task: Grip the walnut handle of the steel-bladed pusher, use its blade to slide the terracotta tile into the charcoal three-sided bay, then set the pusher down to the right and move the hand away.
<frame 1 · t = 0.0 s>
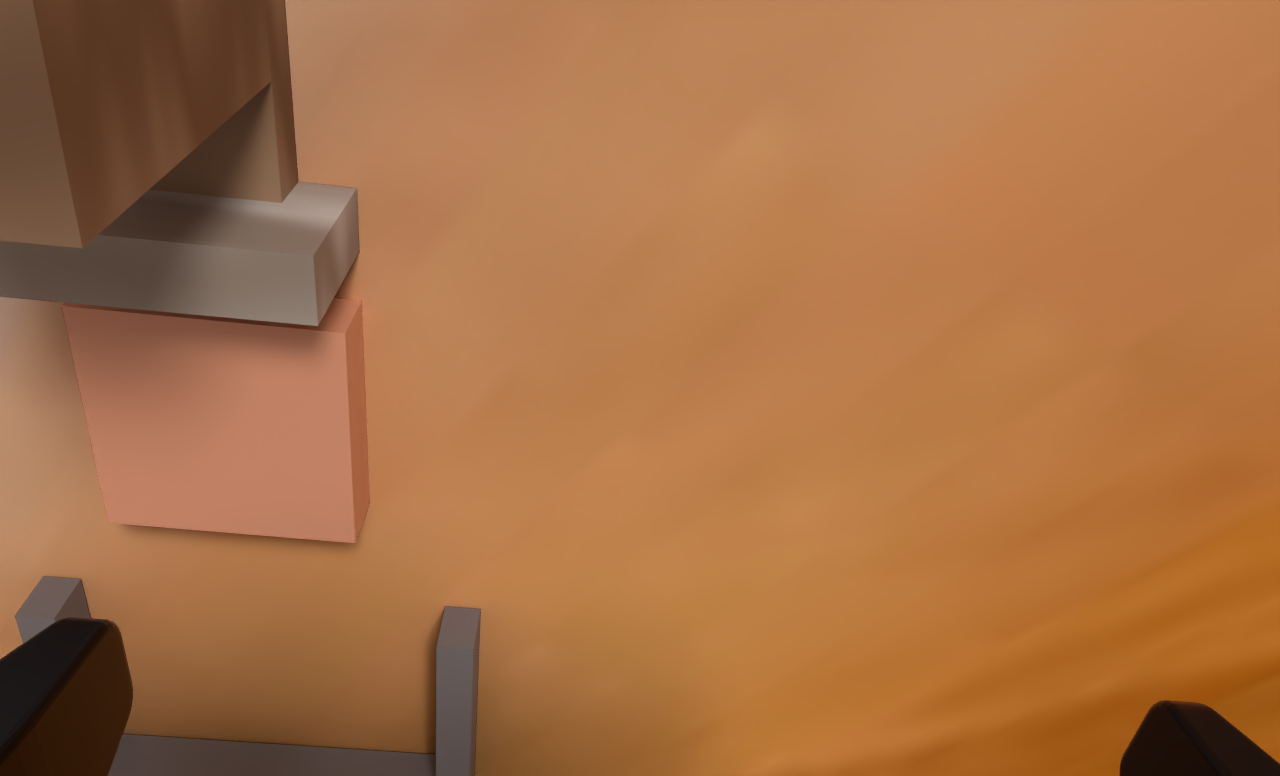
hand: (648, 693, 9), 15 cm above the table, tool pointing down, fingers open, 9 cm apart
tile: (248, 388, 25), on the table
tile bay: (272, 655, 29), on the table
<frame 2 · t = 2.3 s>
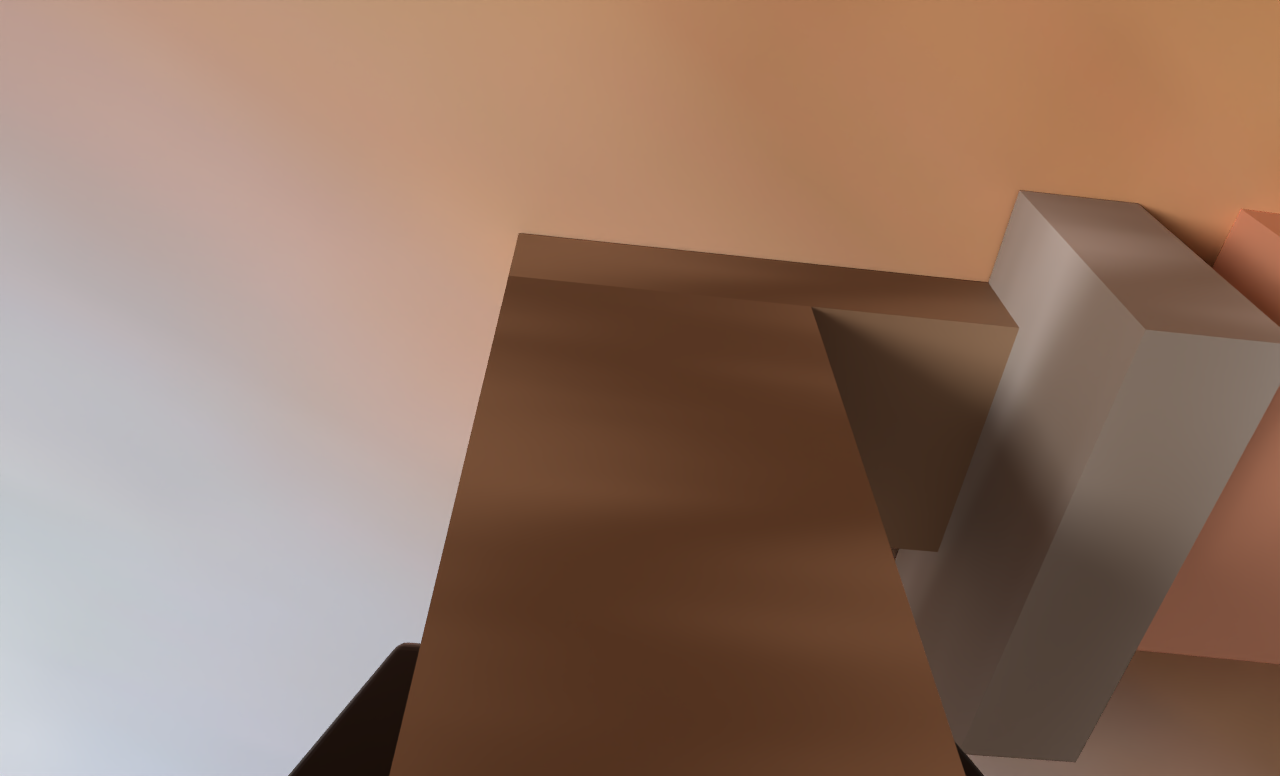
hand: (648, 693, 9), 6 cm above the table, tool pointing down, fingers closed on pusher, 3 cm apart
pusher: (642, 367, 13), on the table, touching gripper
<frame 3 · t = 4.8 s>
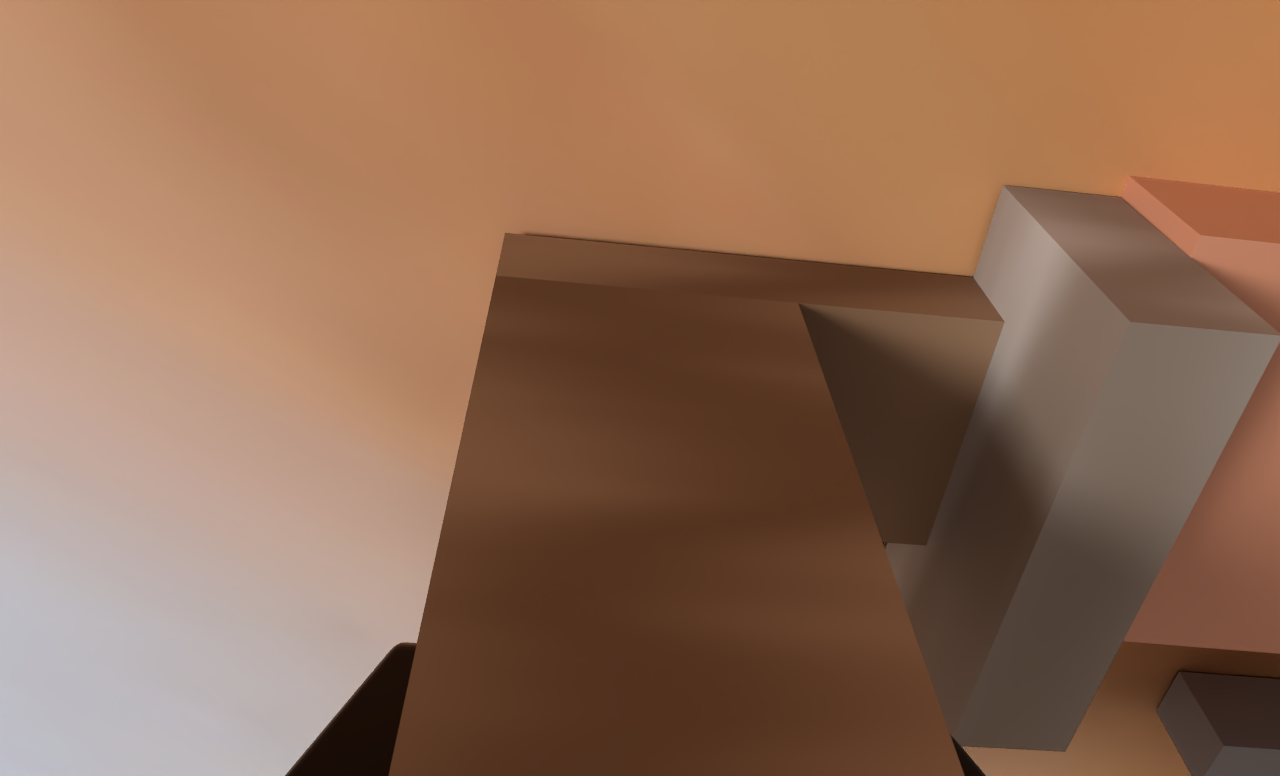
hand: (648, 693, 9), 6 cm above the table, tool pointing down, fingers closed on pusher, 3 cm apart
tile: (1247, 395, 14), on the table
pusher: (630, 365, 13), on the table, touching gripper
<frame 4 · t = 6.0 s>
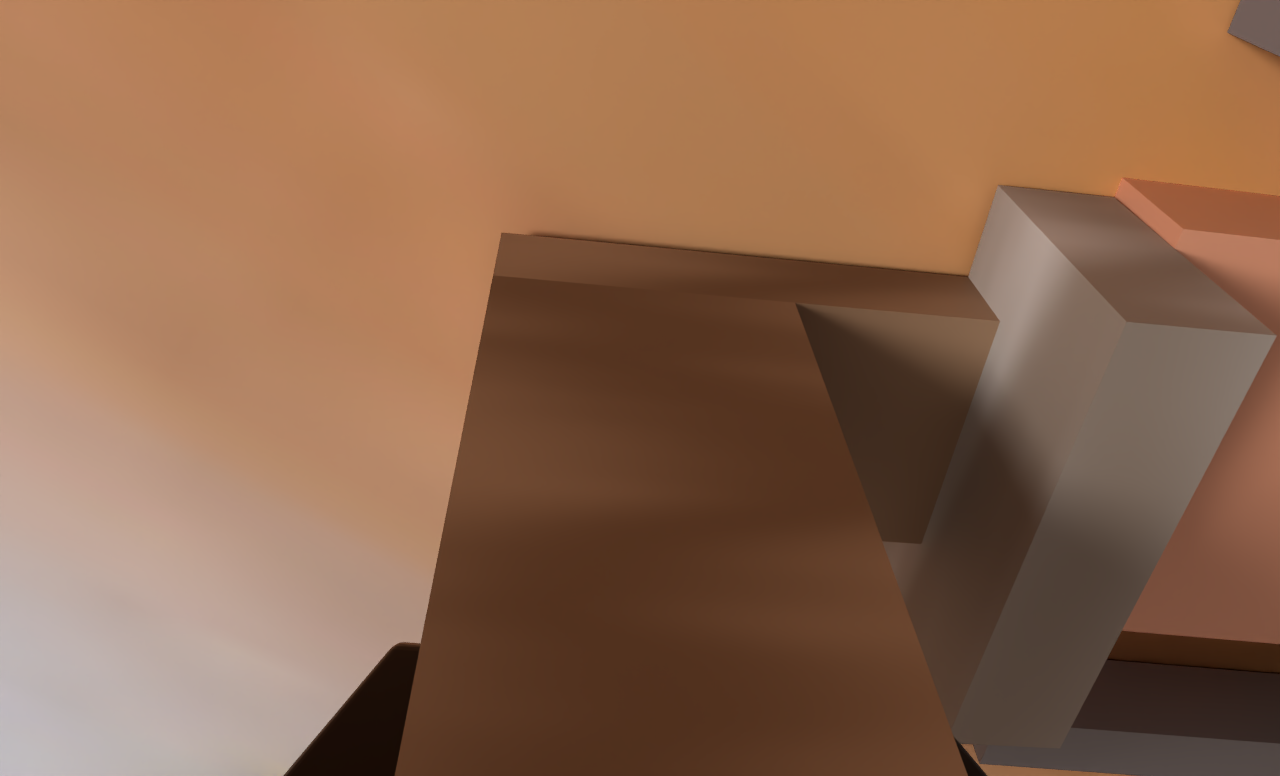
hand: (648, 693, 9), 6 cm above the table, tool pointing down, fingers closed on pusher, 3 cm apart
tile: (1232, 388, 14), on the table
pusher: (626, 365, 13), on the table, touching gripper
tile bay: (1244, 415, 14), on the table
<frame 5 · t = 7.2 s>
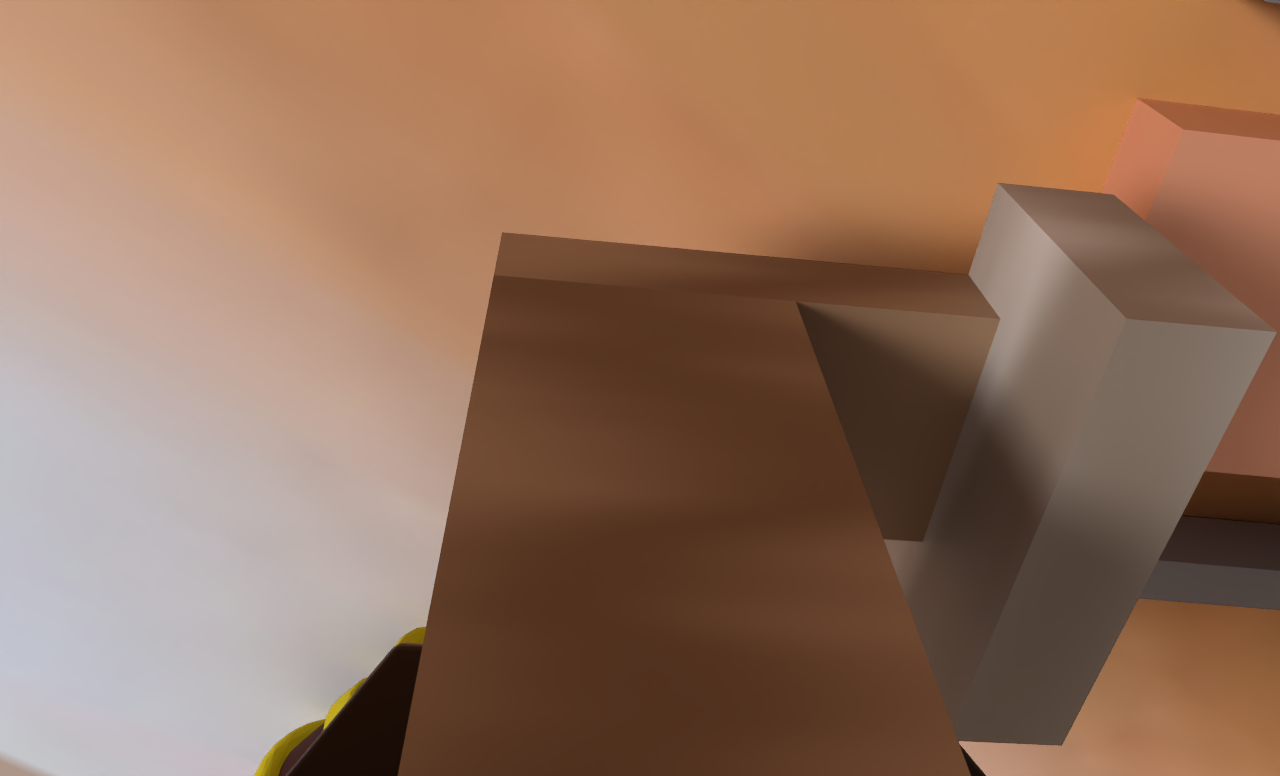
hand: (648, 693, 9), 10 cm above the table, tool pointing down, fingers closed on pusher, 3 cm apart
tile: (1222, 273, 18), on the table
pusher: (627, 364, 13), point 4 cm above the table, touching gripper
opera glasses: (508, 733, 25), on the table
tile bay: (1229, 293, 18), on the table
when the fingers open (6 cm above the table, at t = 9.3 s): pusher stays where it is, on the table.
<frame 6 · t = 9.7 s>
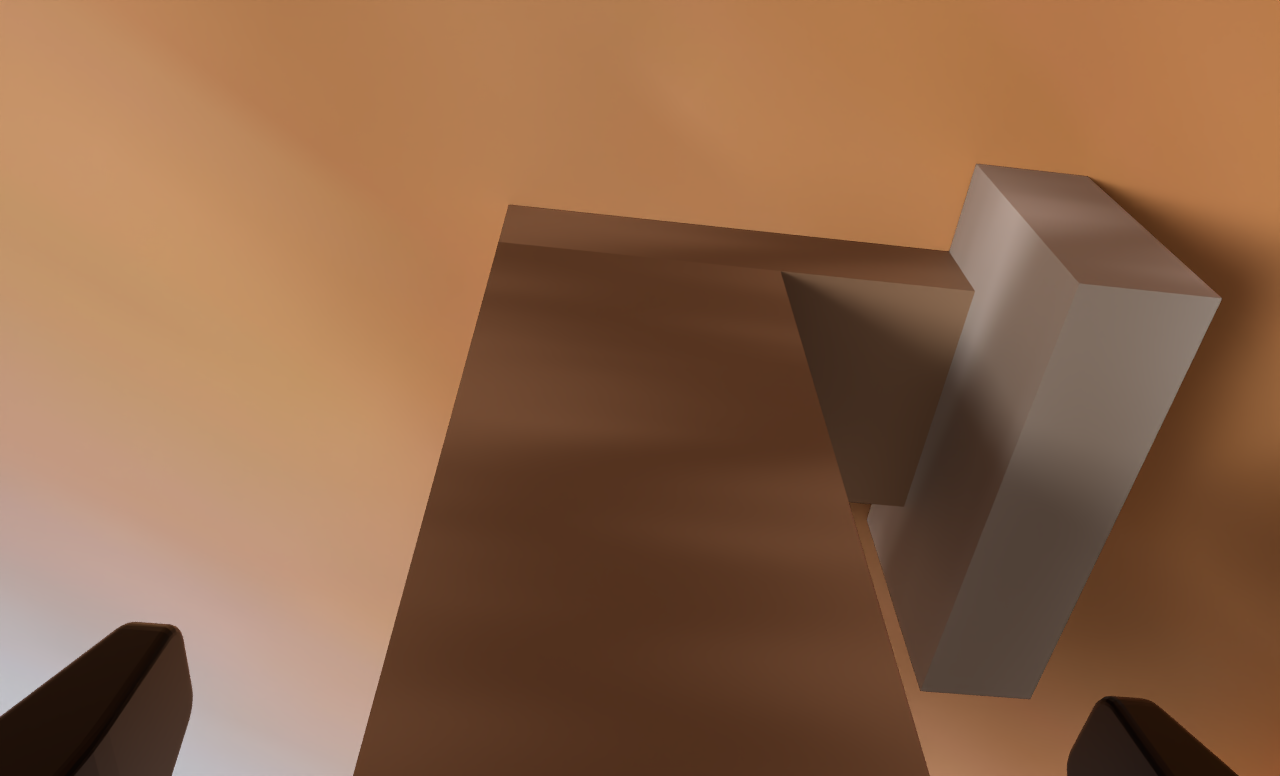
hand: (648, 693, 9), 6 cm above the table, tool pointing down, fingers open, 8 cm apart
pusher: (625, 332, 14), on the table
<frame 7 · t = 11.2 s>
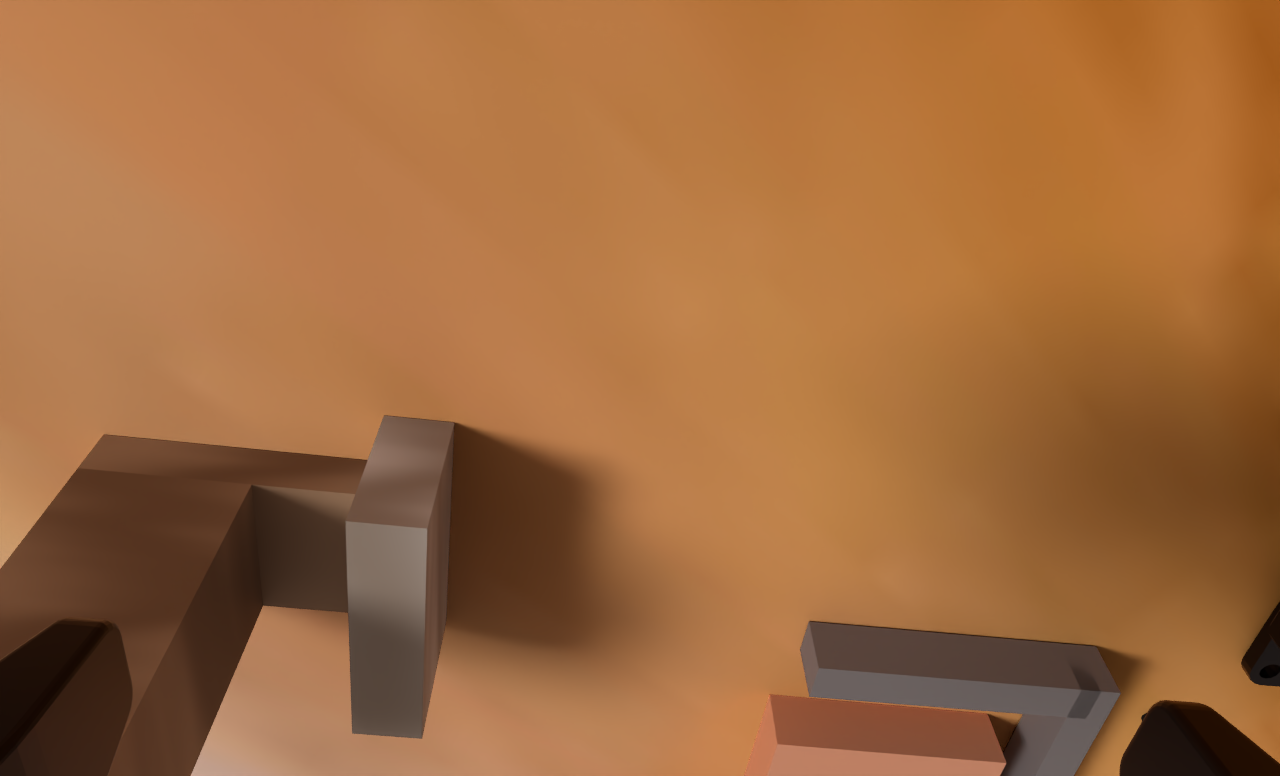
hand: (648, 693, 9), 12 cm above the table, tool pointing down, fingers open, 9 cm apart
tile: (848, 762, 28), on the table
pusher: (195, 505, 23), on the table
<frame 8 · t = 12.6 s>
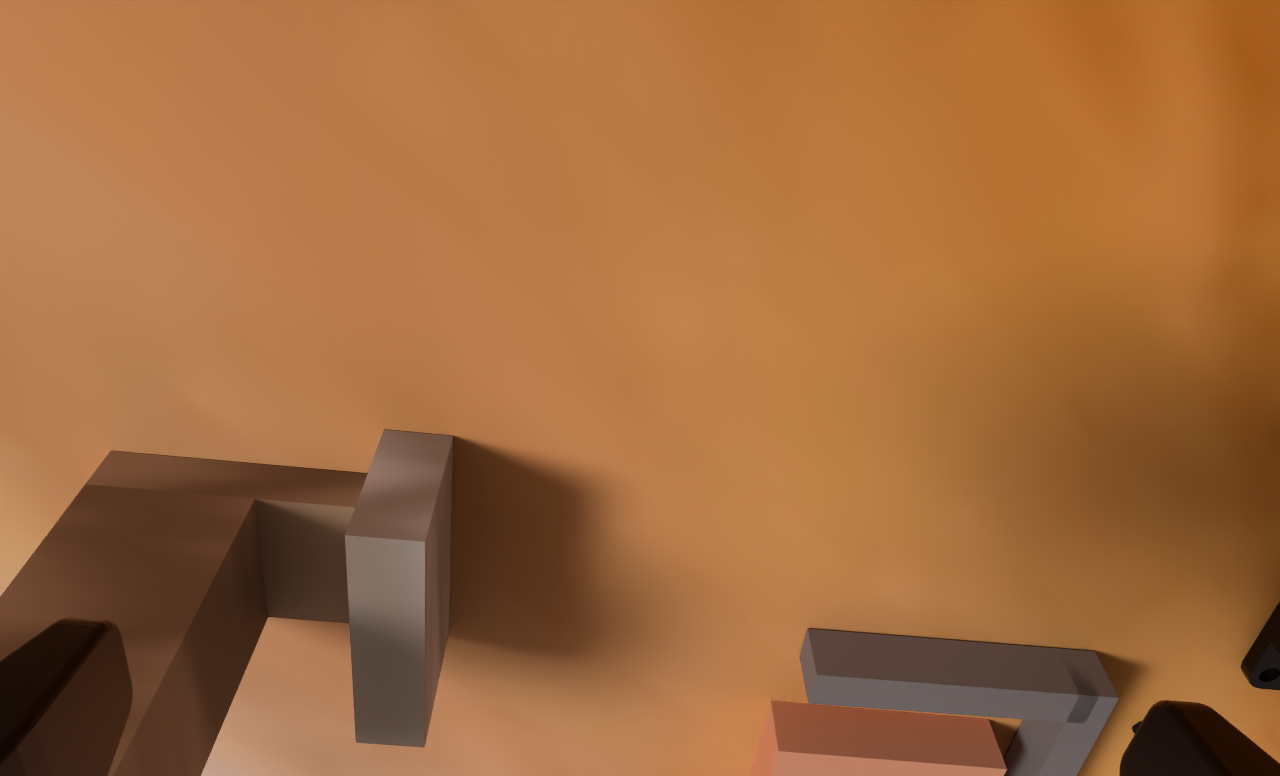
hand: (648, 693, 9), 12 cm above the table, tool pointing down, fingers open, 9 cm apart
tile: (850, 767, 29), on the table
pusher: (200, 518, 23), on the table
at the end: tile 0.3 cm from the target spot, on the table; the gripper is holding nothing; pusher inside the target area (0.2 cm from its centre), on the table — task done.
